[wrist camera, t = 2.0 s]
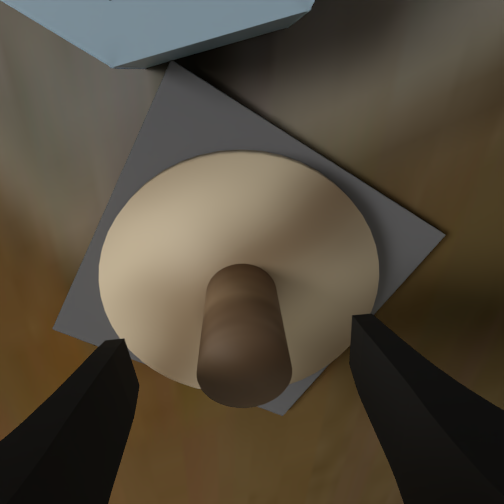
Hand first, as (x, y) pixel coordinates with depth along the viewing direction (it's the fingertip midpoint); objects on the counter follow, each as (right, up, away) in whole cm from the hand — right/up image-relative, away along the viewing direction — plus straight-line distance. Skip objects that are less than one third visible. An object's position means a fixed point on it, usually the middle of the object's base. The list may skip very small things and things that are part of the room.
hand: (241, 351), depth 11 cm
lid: (0, +2, +3) cm, 4 cm away
